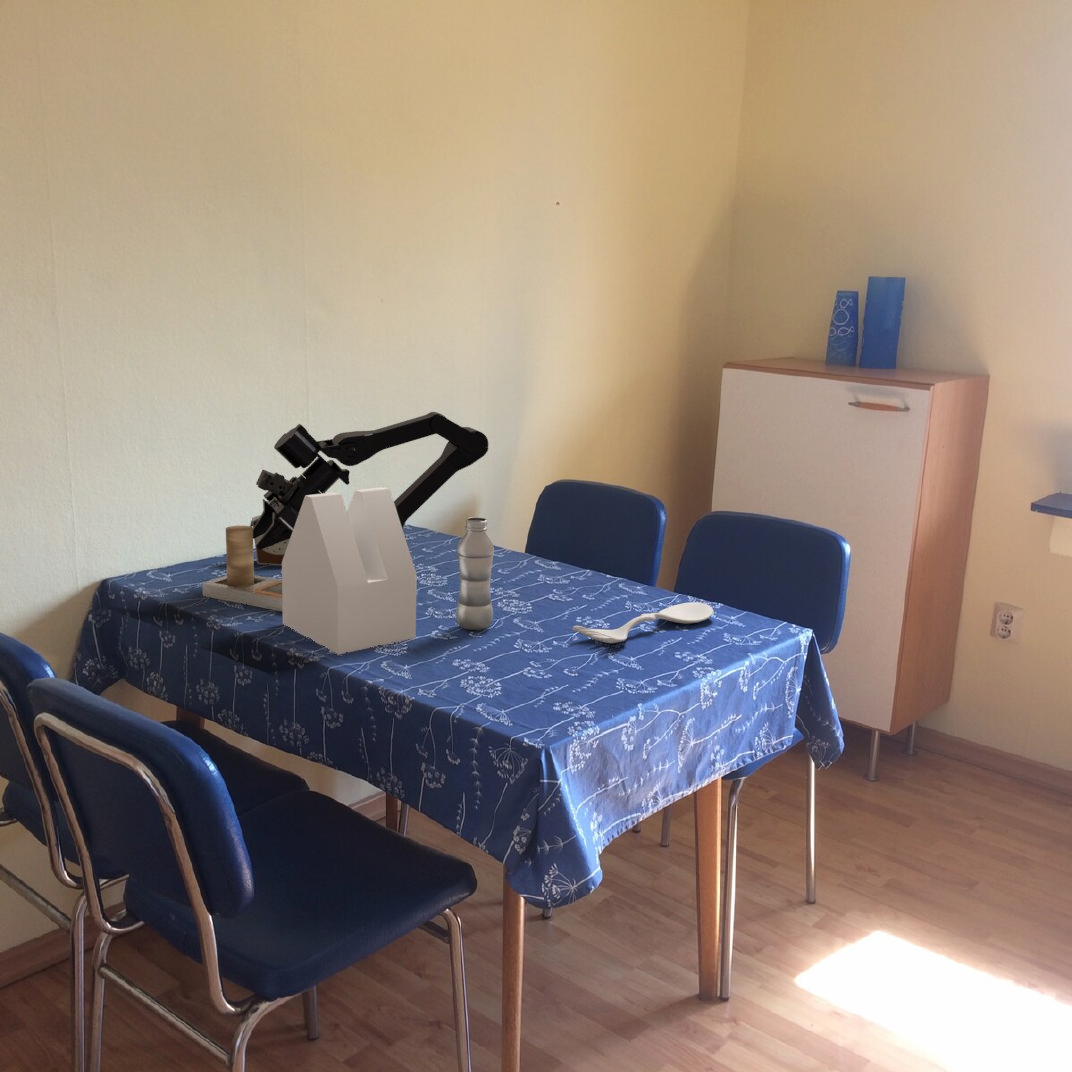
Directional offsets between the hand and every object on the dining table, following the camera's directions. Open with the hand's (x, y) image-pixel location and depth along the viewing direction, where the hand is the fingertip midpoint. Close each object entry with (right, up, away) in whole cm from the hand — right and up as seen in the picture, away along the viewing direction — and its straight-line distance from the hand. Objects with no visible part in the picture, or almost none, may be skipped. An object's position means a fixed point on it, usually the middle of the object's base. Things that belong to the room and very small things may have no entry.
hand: (254, 542), depth 213 cm
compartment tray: (+2, -11, -1) cm, 11 cm away
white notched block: (+21, -16, -18) cm, 32 cm away
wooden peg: (-3, -10, +1) cm, 10 cm away
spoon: (+75, -16, -11) cm, 77 cm away
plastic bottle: (+43, -15, -14) cm, 48 cm away
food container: (0, -4, +26) cm, 26 cm away
